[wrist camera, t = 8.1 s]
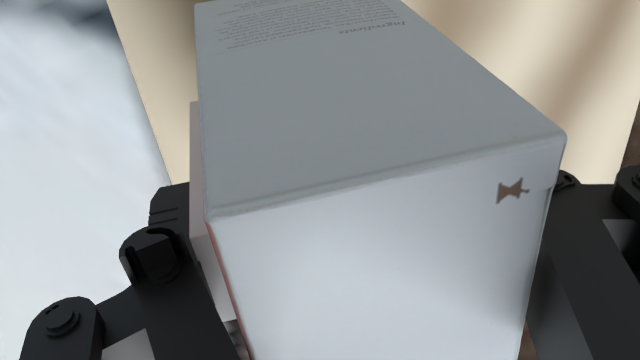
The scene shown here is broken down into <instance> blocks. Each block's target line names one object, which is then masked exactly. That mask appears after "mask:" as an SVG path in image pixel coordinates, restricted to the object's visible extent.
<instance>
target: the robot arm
mask: <svg viewBox="0 0 640 360" xmlns="http://www.w3.org/2000/svg"><path fill="white" fill-rule="evenodd" d="M149 214H150V216H149V221H148V225H149V226H147V227H144V228H142V229H140V230H138V231H136V232H135V233H133V234H132V235H131V236H129V237H128V238H127V239H126V240H125V241H124V242H123V244H122V246H121V248H120V249H119V259H120V261H121V263H122V265H123V268H124V270H125V272H126V274H127V276H128V278H129V280H130V282H131V284H132V285H131V286H129V287H128V288H127V289H125V290H124V291H123V292H121V293H119V294H117V295H116V296H114V297H111V298H109V299H107V300H105V301H103V302H101V303H99V304H97V305H95V304H94V303H93V302H92V301H91V300H90V299H88V298H84V297H80V296H78V297H70V298H65V299H63V300H60V301H57V302H55V303H53V304H51V305H50V306H48V307H47V308H45V309H44V310H42V311H41V312H40V313H39V314H38V315H37V317H36V318H35V319H34V320H33V321H32V323H31V325H30V326H29V328H28V330H27V333H26V337H25V340H24V344H23V348H22V351H21V355H20V359H19V360H240V358H239V356H238V353H237V351H236V349H235V347H234V345H233V343H232V341H231V339H230V337H229V335H228V333H227V330H226V328H225V326H224V324H223V322H225V321H229V320H233V319H237V318H236V315H235V311H234V308H233V305H232V302H231V299H230V296H229V293H228V290H227V287H226V284H225V281H224V278H223V275H222V272H221V269H220V266H219V263H218V260H217V257H216V254H215V251H214V248H213V245H212V242H211V239H210V236H209V233H208V230H207V227H206V225H205V222H204V206H203V181H202V159H201V138H200V121H199V102H198V101H193V102H190V160H189V182H185V183H180V184H175V185H171V186H166V187H161V188H159V189H158V191H157V192H156V194H155V195H154V197H153V198H152V200H151V202H150V212H149ZM525 318H526V321H527V324H528V328H529V331H530V334H531V337H532V340H533V343H534V346H535V350H536V353H537V356H538V359H539V360H640V165H636V166H628V167H626V168H623V169H621V170H620V171H619V172H618V173H617V174H616V178H615V181H614V184H581V183H580V181H579V180H578V179H577V178H576V177H575V176H574V175H572V174H570V173H568V172H566V171H564V170H560V169H559V173H558V177H557V181H556V184H555V187H554V189H553V192H552V196H551V200H550V204H549V209H548V213H547V217H546V221H545V225H544V230H543V234H542V239H541V244H540V249H539V254H538V258H537V262H536V267H535V273H534V277H533V282H532V286H531V291H530V297H529V302H528V307H527V312H526V317H525Z"/></svg>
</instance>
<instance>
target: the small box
mask: <svg viewBox="0 0 640 360" xmlns="http://www.w3.org/2000/svg"><path fill="white" fill-rule="evenodd" d="M194 28H195V47H196V64H197V87H198V102H199V121H200V138H201V159H202V181H203V206H204V222H205V225H206V227H207V230H208V233H209V236H210V239H211V242H212V245H213V248H214V251H215V254H216V257H217V260H218V263H219V266H220V269H221V272H222V275H223V278H224V281H225V284H226V287H227V290H228V293H229V296H230V299H231V302H232V305H233V308H234V311H235V315H236V318H237V321H238V324H239V327H240V330H241V333H242V336H243V339H244V342H245V345H246V348H247V351H248V354H249V357H250V360H517V358H518V353H519V348H520V342H521V337H522V332H523V326H524V322H525V317H526V312H527V307H528V302H529V297H530V291H531V286H532V282H533V277H534V273H535V267H536V262H537V258H538V254H539V249H540V244H541V239H542V234H543V230H544V225H545V221H546V217H547V213H548V209H549V204H550V200H551V196H552V192H553V189H554V187H555V184H556V181H557V177H558V173H559V169H560V165H561V161H562V158H563V154H564V151H565V148H566V144H567V134H566V132H565V131H564V130H562V129H561V128H560V127H559V126H558V125H557V124H555V123H554V122H552V121H551V120H550V119H548V118H547V117H546V116H545V115H543V114H542V113H541V112H540V111H539V110H537V109H536V108H535V107H534V106H533V105H531V104H530V103H529V102H528V101H526V100H525V99H524V98H522V97H521V96H520V95H519V94H517V93H516V92H515V91H514V90H513V89H511V88H510V87H509V86H508V85H506V84H505V83H504V82H502V81H501V80H500V79H499V78H497V77H496V76H495V75H494V74H492V73H491V72H490V71H489V70H487V69H486V68H485V67H484V66H482V65H481V64H480V63H479V62H477V61H476V60H475V59H474V58H472V57H471V56H470V55H468V54H467V53H466V52H464V51H463V50H462V49H461V48H460V47H459V46H457V45H456V44H455V43H453V42H452V41H451V40H450V39H448V38H447V37H446V36H445V35H443V34H442V33H441V32H440V31H438V30H437V29H436V28H435V27H433V26H432V25H431V24H430V23H428V22H427V21H426V20H424V19H423V18H422V17H421V16H419V15H418V14H417V13H416V12H415V11H413V10H412V9H411V8H410V7H408V6H407V5H406V4H404V3H403V2H402V1H401V0H214V1H208V2H201V3H197V4H195V5H194Z"/></svg>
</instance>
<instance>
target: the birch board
mask: <svg viewBox="0 0 640 360" xmlns="http://www.w3.org/2000/svg"><path fill="white" fill-rule="evenodd" d="M106 1H107V4H108V6H109V9H110V12H111V15H112V18H113V20H114V23H115V26H116V29H117V32H118V35H119V37H120V40H121V43H122V46H123V49H124V51H125V54H126V57H127V60H128V63H129V65H130V68H131V71H132V74H133V77H134V79H135V82H136V85H137V88H138V91H139V93H140V96H141V99H142V102H143V105H144V107H145V110H146V113H147V116H148V119H149V121H150V124H151V127H152V130H153V133H154V135H155V138H156V141H157V144H158V147H159V149H160V152H161V155H162V158H163V161H164V163H165V166H166V169H167V172H168V175H169V177H170V180H171V183H172V185H175V184H180V183H185V182H189V160H190V102H193V101H198V87H197V64H196V47H195V28H194V5H195V4H197V3H201V2H208V1H214V0H106ZM401 1H402V2H403V3H404V4H406V5H407V6H408V7H410V8H411V9H412V10H413V11H415V12H416V13H417V14H418V15H419V16H421V17H422V18H423V19H424V20H426V21H427V22H428V23H430V24H431V25H432V26H433V27H435V28H436V29H437V30H438V31H440V32H441V33H442V34H443V35H445V36H446V37H447V38H448V39H450V40H451V41H452V42H453V43H455V44H456V45H457V46H459V47H460V48H461V49H462V50H463V51H464V52H466V53H467V54H468V55H470V56H471V57H472V58H474V59H475V60H476V61H477V62H479V63H480V64H481V65H482V66H484V67H485V68H486V69H487V70H489V71H490V72H491V73H492V74H494V75H495V76H496V77H497V78H499V79H500V80H501V81H502V82H504V83H505V84H506V85H508V86H509V87H510V88H511V89H513V90H514V91H515V92H516V93H517V94H519V95H520V96H521V97H522V98H524V99H525V100H526V101H528V102H529V103H530V104H531V105H533V106H534V107H535V108H536V109H537V110H539V111H540V112H541V113H542V114H543V115H545V116H546V117H547V118H548V119H550V120H551V121H552V122H554V123H555V124H557V125H558V126H559V127H560V128H561V129H562V130H564V131H565V132H566V134H567V144H566V148H565V151H564V154H563V158H562V161H561V165H560V170H564V171H566V172H568V173H570V174H572V175H574V176H575V177H576V178H577V179H578V180H579V181H580V183H581V184H614V181H615V178H616V174H617V173H618V172H619V169H620V166H621V162H622V159H623V156H624V152H625V149H626V145H627V142H628V138H629V135H630V131H631V128H632V124H633V121H634V117H635V114H636V110H637V107H638V104H639V100H640V0H401Z"/></svg>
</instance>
